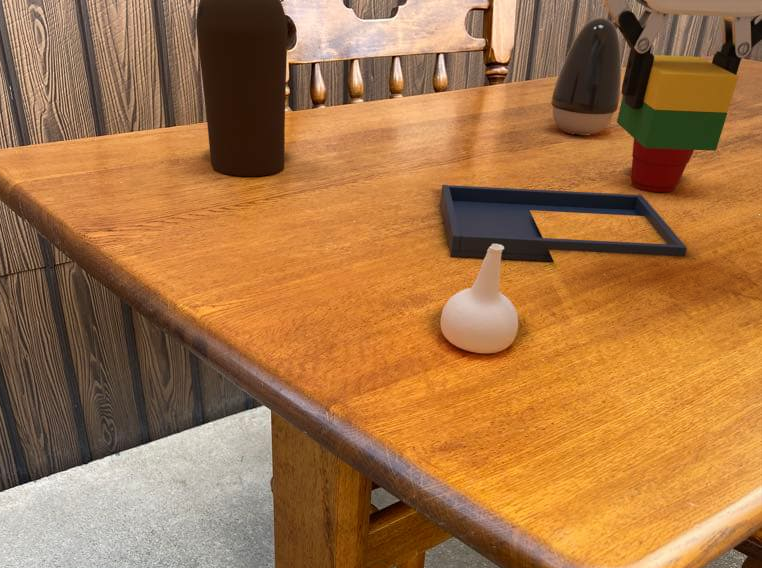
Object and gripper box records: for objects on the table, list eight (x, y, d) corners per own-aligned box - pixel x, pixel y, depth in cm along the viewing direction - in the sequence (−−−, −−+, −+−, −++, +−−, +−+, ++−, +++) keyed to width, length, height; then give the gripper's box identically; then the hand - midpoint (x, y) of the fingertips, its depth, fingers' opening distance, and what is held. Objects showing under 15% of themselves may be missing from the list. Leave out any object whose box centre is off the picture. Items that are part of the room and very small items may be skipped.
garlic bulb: (472, 318, 68) (486, 224, 63) (530, 343, 65) (549, 246, 60) (423, 338, 65) (433, 240, 59) (481, 366, 61) (497, 265, 56)
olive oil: (256, 183, 96) (246, -76, 80) (189, 168, 100) (167, -83, 84) (305, 165, 103) (305, -76, 87) (240, 151, 107) (229, -82, 91)
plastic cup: (701, 183, 105) (733, 81, 97) (688, 203, 97) (721, 94, 89) (620, 169, 108) (645, 69, 100) (602, 188, 101) (626, 82, 93)
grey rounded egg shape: (622, 132, 125) (649, 19, 116) (592, 143, 119) (618, 24, 109) (566, 120, 130) (587, 11, 121) (534, 130, 124) (554, 15, 114)
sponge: (616, 122, 71) (632, 53, 68) (681, 125, 71) (700, 56, 68) (644, 148, 64) (663, 72, 61) (716, 150, 64) (739, 76, 61)
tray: (637, 213, 93) (642, 194, 92) (681, 268, 80) (687, 247, 78) (440, 203, 93) (442, 184, 92) (450, 256, 79) (453, 235, 78)
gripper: (640, -190, 52) (580, 113, 63) (895, -177, 52) (789, 121, 64) (611, -182, 58) (561, 94, 69) (841, -171, 58) (753, 102, 70)
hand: (671, 105), depth 66 cm, fingers closed on sponge, 6 cm apart
